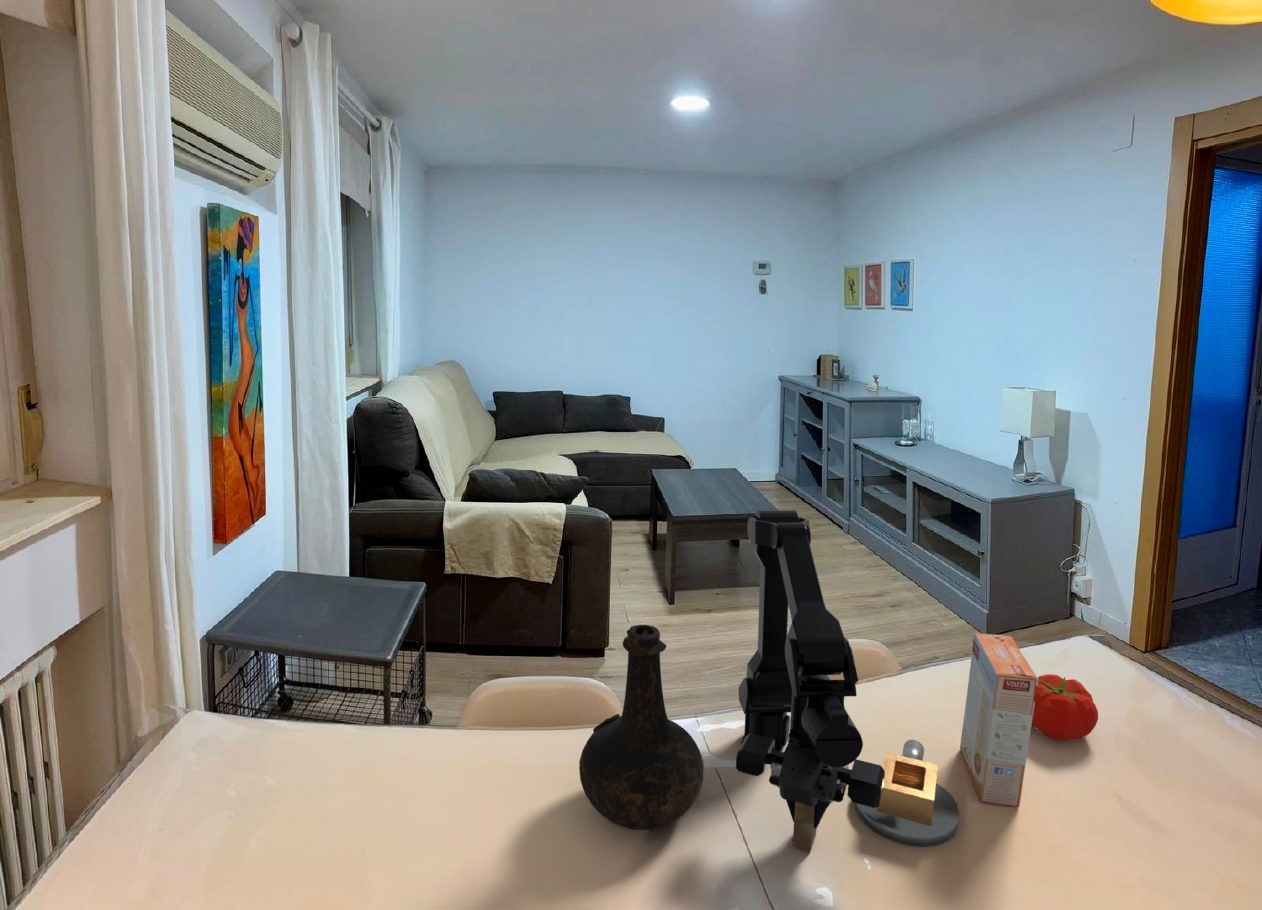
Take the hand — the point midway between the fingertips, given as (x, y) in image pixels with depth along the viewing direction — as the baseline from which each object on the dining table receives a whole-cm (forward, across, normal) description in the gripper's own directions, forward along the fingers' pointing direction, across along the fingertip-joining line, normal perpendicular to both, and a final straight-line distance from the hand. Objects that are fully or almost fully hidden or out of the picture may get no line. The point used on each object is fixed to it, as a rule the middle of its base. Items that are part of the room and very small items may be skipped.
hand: (805, 823), depth 105 cm
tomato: (+3, +33, +45) cm, 56 cm away
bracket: (+3, +12, +14) cm, 18 cm away
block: (+3, 0, 0) cm, 3 cm away
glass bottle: (+3, -23, -3) cm, 23 cm away
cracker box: (+3, +23, +26) cm, 35 cm away
